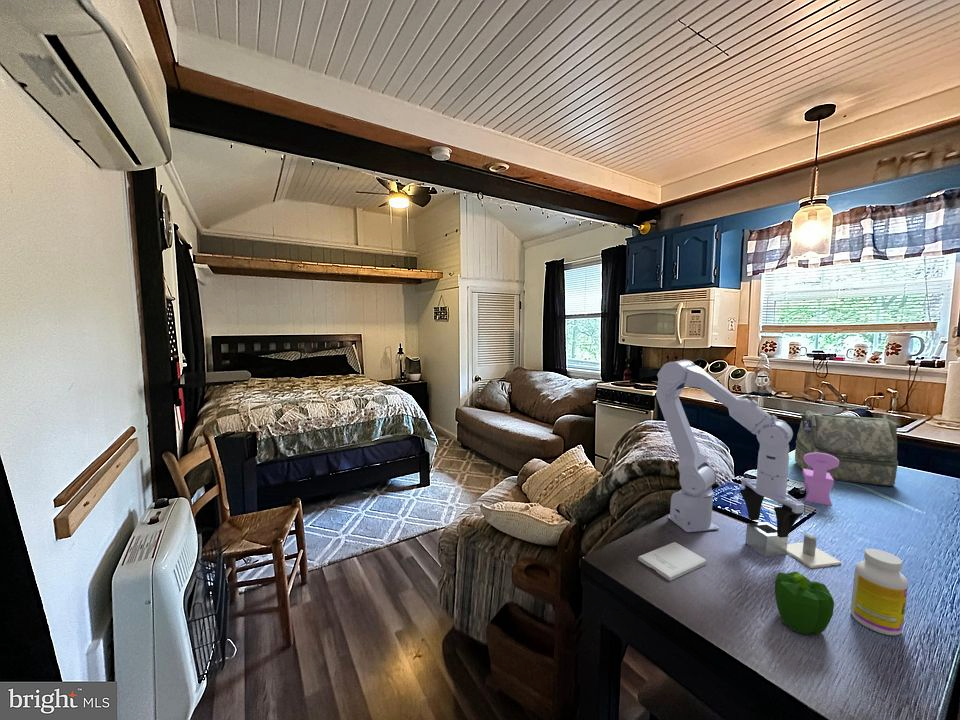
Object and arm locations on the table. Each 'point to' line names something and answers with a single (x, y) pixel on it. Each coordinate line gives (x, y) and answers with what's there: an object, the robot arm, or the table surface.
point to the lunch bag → (851, 446)
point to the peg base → (810, 553)
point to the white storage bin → (765, 539)
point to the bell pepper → (803, 603)
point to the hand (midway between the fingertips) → (767, 527)
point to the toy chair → (819, 477)
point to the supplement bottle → (879, 592)
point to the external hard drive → (672, 560)
